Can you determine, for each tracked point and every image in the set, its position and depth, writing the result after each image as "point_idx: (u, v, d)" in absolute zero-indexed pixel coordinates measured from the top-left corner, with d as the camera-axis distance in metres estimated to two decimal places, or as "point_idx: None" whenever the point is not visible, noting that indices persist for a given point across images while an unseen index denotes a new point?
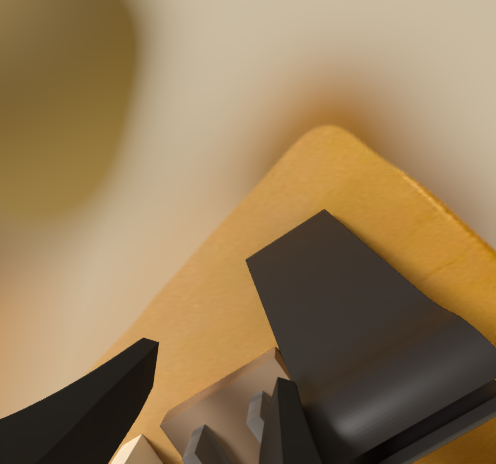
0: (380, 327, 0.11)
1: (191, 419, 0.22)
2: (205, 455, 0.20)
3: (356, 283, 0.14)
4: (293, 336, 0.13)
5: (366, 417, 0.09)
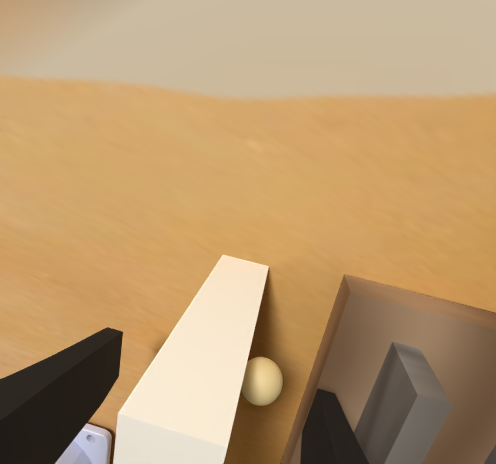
0: None
1: (408, 327, 0.11)
2: None
3: None
4: None
5: None
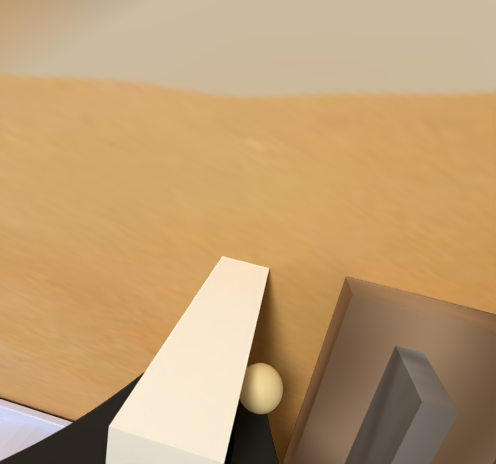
0: None
1: (412, 330, 0.11)
2: None
3: None
4: None
5: None
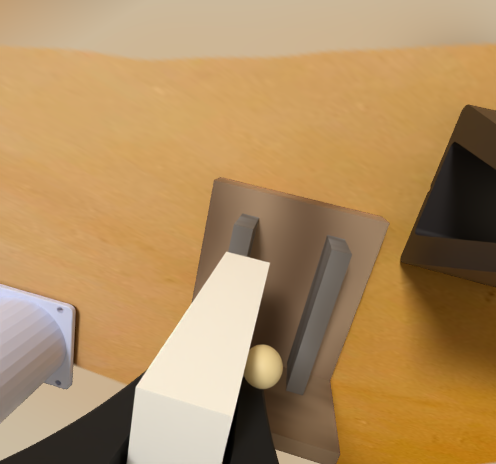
0: None
1: (250, 202, 0.18)
2: (251, 241, 0.16)
3: None
4: None
5: None
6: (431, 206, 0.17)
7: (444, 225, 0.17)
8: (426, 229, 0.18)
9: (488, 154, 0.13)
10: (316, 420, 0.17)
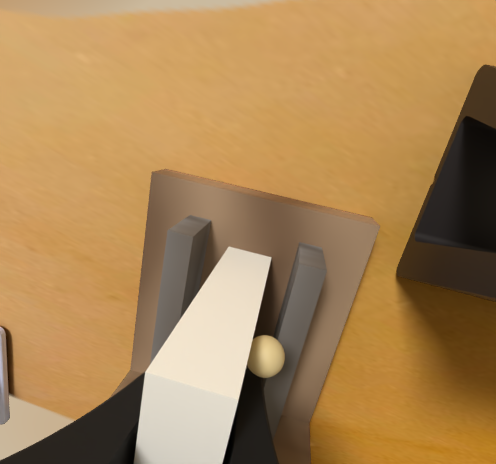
0: None
1: (199, 200, 0.14)
2: (195, 252, 0.12)
3: None
4: None
5: None
6: (435, 204, 0.13)
7: (452, 228, 0.13)
8: (429, 233, 0.14)
9: None
10: None
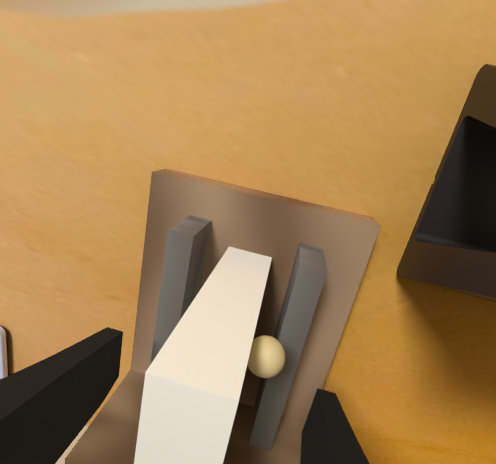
0: None
1: (199, 200, 0.14)
2: (195, 252, 0.12)
3: None
4: None
5: None
6: (435, 204, 0.13)
7: (453, 228, 0.13)
8: (430, 233, 0.13)
9: None
10: None
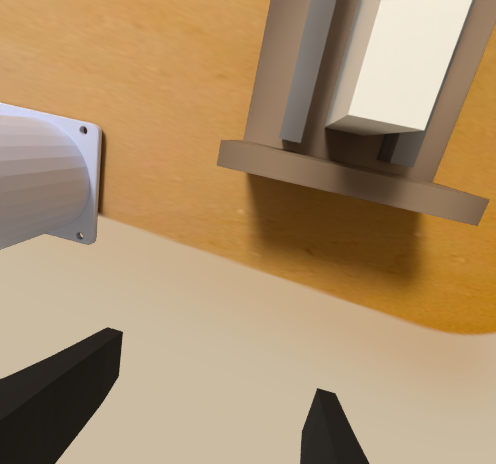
0: None
1: None
2: None
3: None
4: None
5: None
6: None
7: None
8: None
9: None
10: (438, 186, 0.13)
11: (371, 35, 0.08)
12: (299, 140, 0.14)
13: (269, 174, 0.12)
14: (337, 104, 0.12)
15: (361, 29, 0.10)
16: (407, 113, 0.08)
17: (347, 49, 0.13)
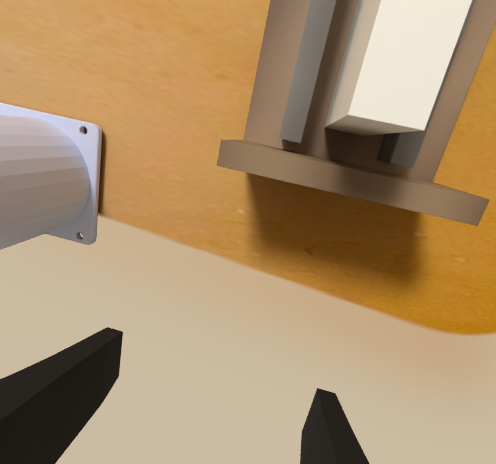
0: None
1: None
2: None
3: None
4: None
5: None
6: None
7: None
8: None
9: None
10: (438, 186, 0.13)
11: (371, 35, 0.08)
12: (299, 140, 0.14)
13: (269, 174, 0.12)
14: (337, 104, 0.12)
15: (361, 29, 0.10)
16: (407, 113, 0.08)
17: (347, 49, 0.13)
